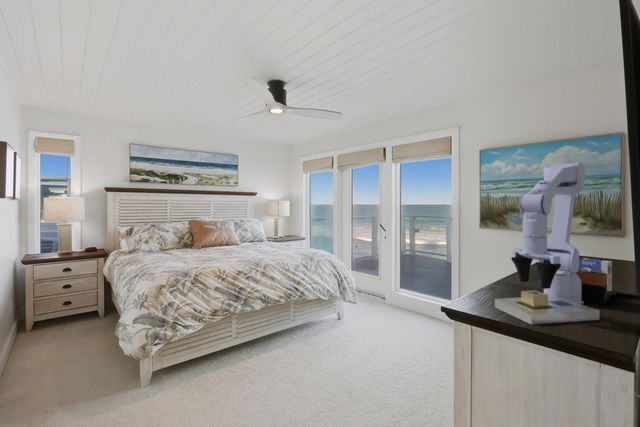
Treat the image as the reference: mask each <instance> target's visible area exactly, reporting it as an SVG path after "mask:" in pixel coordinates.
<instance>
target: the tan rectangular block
mask: <svg viewBox="0 0 640 427" xmlns="http://www.w3.org/2000/svg"><path fill="white" fill-rule="evenodd" d="M520 297H521V305H523V306H525V307H528V308H530V309H532V310H536V309H548V294H545V293H544V292H543V291H538V290H536V289H535V290H521V291H520Z"/></svg>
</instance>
